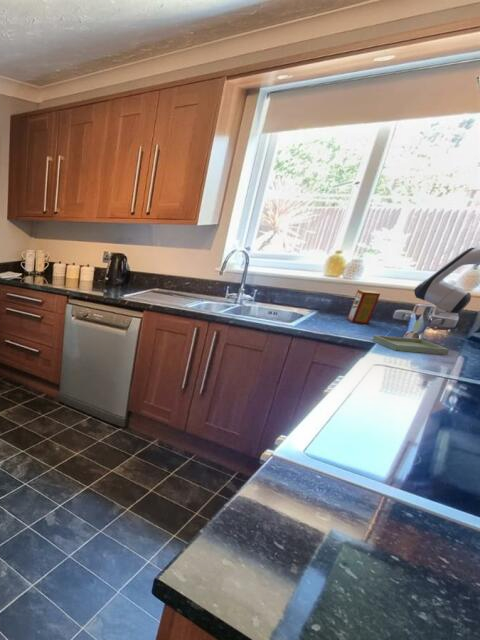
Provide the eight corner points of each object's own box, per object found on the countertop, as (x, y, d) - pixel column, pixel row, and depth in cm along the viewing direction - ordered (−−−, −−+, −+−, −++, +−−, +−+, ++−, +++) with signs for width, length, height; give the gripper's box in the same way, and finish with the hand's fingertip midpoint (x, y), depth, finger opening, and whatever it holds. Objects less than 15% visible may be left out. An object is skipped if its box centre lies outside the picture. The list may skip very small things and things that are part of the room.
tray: (419, 344, 184) (422, 339, 184) (446, 354, 170) (449, 349, 170) (372, 340, 188) (374, 335, 188) (394, 350, 174) (397, 344, 174)
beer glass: (427, 340, 186) (442, 307, 181) (411, 340, 186) (426, 306, 181) (412, 336, 193) (426, 303, 187) (397, 336, 193) (410, 303, 187)
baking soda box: (346, 318, 228) (358, 289, 222) (362, 320, 225) (374, 290, 219) (352, 322, 220) (363, 291, 214) (368, 324, 218) (380, 293, 212)
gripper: (401, 305, 200) (391, 308, 193) (464, 314, 184) (455, 317, 177) (395, 318, 202) (386, 322, 195) (457, 328, 186) (449, 332, 179)
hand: (419, 320), depth 186 cm, fingers closed on beer glass, 7 cm apart
